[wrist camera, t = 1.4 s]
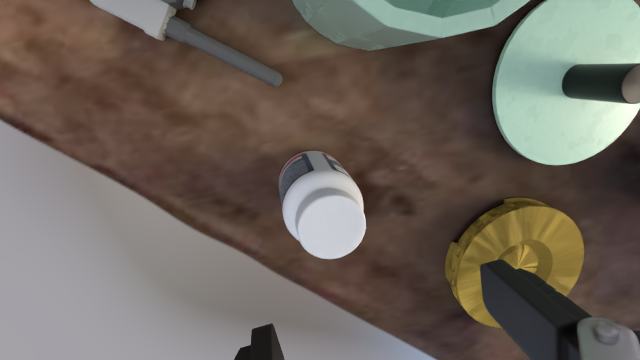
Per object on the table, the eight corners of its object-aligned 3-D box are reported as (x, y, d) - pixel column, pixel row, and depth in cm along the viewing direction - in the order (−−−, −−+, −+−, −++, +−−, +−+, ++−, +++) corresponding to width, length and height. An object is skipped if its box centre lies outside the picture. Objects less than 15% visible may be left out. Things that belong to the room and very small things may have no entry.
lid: (481, 8, 26) (541, -8, 21) (647, -29, 27) (748, -55, 22) (492, 178, 31) (544, 204, 25) (635, 141, 32) (717, 157, 26)
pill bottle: (278, 213, 29) (284, 272, 20) (278, 149, 27) (283, 185, 19) (343, 211, 30) (373, 267, 21) (345, 149, 28) (379, 183, 20)
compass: (584, 258, 35) (604, 270, 33) (486, 333, 36) (499, 349, 34) (528, 170, 31) (546, 177, 29) (420, 257, 32) (431, 270, 30)
